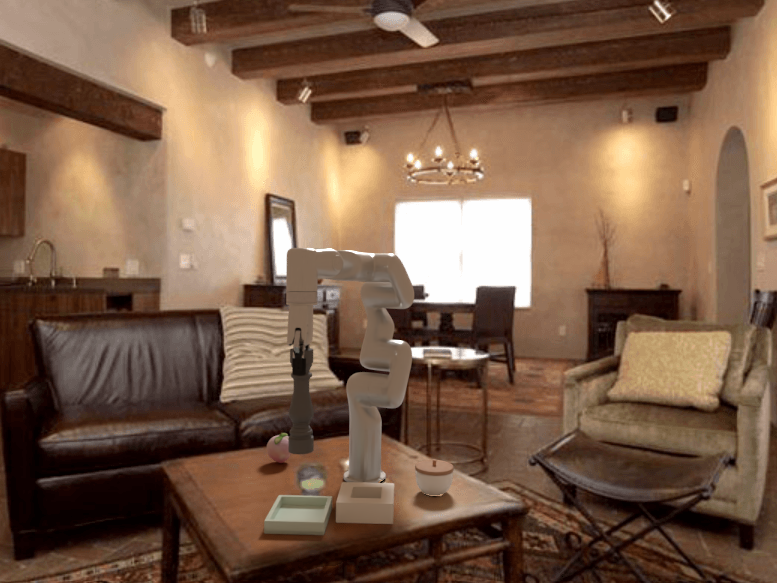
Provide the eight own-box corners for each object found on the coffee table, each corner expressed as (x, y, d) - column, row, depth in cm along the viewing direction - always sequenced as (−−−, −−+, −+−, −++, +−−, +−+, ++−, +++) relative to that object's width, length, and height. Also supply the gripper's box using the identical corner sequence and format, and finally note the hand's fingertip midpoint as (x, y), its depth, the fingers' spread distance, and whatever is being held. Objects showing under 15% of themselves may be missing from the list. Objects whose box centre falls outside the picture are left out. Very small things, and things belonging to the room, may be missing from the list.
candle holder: (283, 450, 145) (283, 349, 144) (303, 445, 149) (304, 346, 148) (298, 456, 141) (298, 351, 140) (318, 450, 145) (319, 349, 144)
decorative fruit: (270, 458, 193) (270, 428, 192) (295, 458, 193) (295, 428, 192) (263, 467, 183) (263, 436, 183) (289, 468, 183) (289, 436, 183)
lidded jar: (442, 484, 172) (443, 452, 171) (459, 497, 162) (460, 463, 161) (408, 488, 168) (409, 455, 167) (424, 502, 158) (424, 467, 157)
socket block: (341, 500, 158) (342, 481, 158) (394, 501, 158) (394, 483, 158) (335, 522, 144) (336, 502, 144) (393, 524, 144) (393, 503, 144)
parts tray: (278, 506, 154) (278, 494, 154) (332, 507, 153) (332, 496, 153) (264, 533, 138) (264, 520, 138) (323, 535, 137) (324, 522, 137)
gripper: (293, 296, 152) (292, 366, 153) (279, 300, 135) (278, 378, 136) (322, 297, 152) (321, 367, 153) (311, 300, 135) (311, 379, 136)
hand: (301, 371), depth 144 cm, fingers closed on candle holder, 5 cm apart
